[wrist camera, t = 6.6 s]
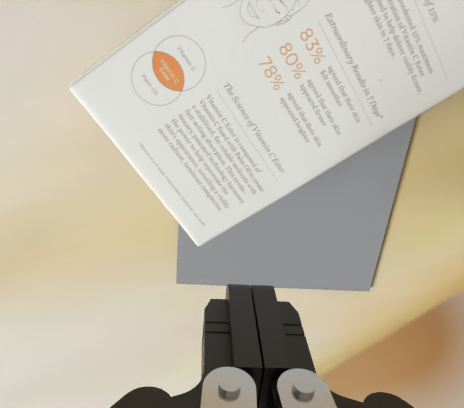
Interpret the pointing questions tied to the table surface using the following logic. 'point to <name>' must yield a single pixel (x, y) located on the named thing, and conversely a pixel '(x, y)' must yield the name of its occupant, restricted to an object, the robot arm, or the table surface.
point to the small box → (267, 94)
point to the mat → (309, 229)
